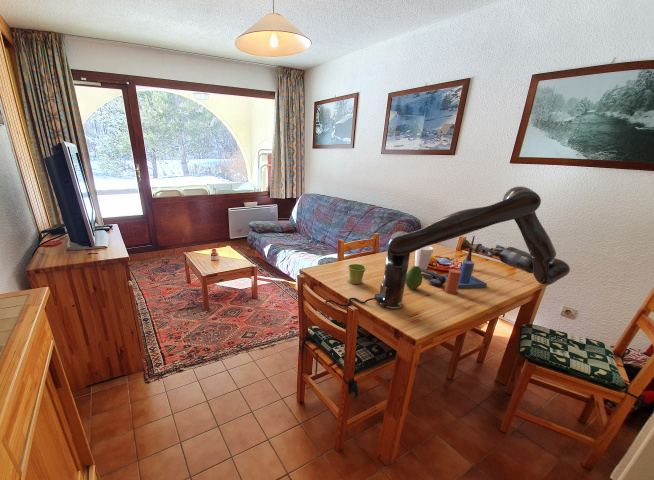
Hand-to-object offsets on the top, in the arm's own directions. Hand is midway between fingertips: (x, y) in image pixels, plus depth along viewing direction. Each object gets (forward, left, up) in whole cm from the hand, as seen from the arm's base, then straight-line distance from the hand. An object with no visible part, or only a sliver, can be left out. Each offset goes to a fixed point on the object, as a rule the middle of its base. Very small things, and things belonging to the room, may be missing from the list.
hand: (488, 247), depth 147 cm
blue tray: (0, +10, -23) cm, 25 cm away
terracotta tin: (-14, 0, -23) cm, 26 cm away
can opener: (-16, +14, -23) cm, 31 cm away
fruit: (-31, +6, -23) cm, 39 cm away
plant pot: (-57, +17, -23) cm, 64 cm away
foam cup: (-11, +33, -23) cm, 42 cm away
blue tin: (0, +10, -22) cm, 24 cm away
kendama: (+16, +30, -23) cm, 41 cm away
